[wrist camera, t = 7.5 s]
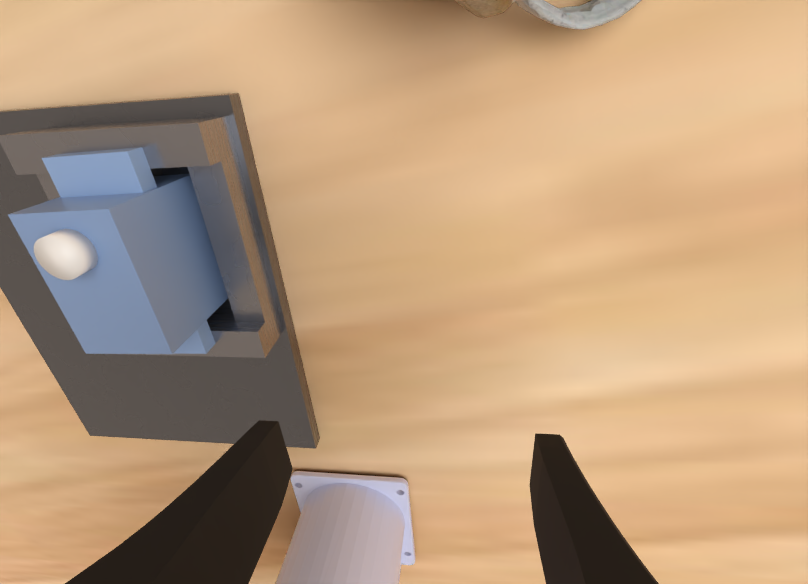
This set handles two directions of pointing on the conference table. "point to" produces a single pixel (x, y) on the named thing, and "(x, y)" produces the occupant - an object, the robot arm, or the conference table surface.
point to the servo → (125, 254)
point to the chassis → (235, 253)
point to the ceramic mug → (556, 11)
